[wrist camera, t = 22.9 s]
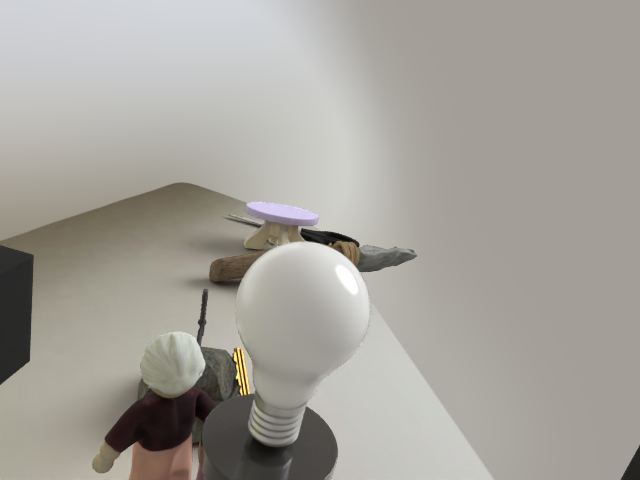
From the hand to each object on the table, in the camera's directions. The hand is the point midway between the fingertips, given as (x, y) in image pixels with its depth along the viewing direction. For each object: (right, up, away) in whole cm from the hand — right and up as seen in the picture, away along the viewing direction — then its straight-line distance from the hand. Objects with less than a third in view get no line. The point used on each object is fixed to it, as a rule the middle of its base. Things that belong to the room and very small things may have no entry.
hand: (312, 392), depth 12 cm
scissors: (-14, +7, +70) cm, 72 cm away
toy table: (-6, +2, +63) cm, 63 cm away
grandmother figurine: (-10, -14, +22) cm, 28 cm away
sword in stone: (-10, -9, +32) cm, 35 cm away
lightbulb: (-2, -7, +17) cm, 19 cm away
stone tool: (-11, 0, +49) cm, 50 cm away
